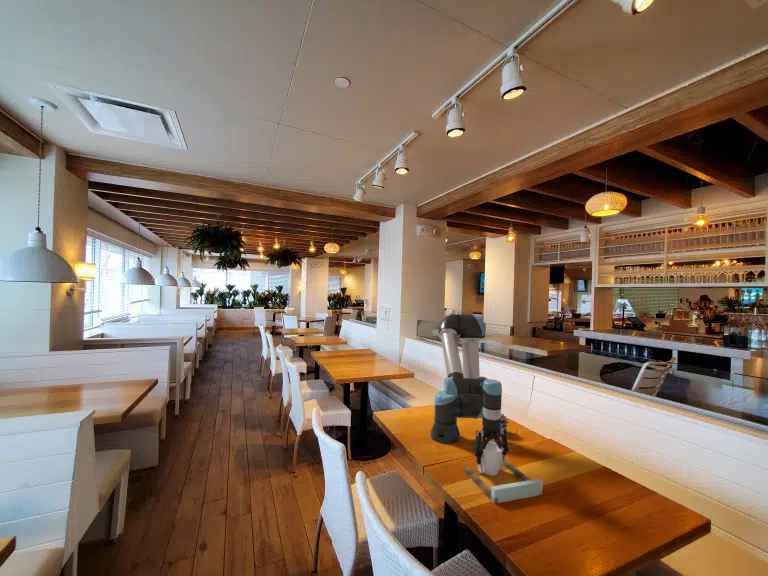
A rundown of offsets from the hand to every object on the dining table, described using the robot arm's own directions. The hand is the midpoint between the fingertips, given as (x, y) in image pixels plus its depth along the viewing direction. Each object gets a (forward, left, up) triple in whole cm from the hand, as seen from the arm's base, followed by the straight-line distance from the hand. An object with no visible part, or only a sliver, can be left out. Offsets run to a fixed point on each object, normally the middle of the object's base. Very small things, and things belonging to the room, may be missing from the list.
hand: (490, 469), depth 138 cm
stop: (+17, 0, -1) cm, 17 cm away
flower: (-32, +26, -1) cm, 41 cm away
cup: (0, 0, -1) cm, 1 cm away
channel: (+7, 0, -1) cm, 7 cm away
